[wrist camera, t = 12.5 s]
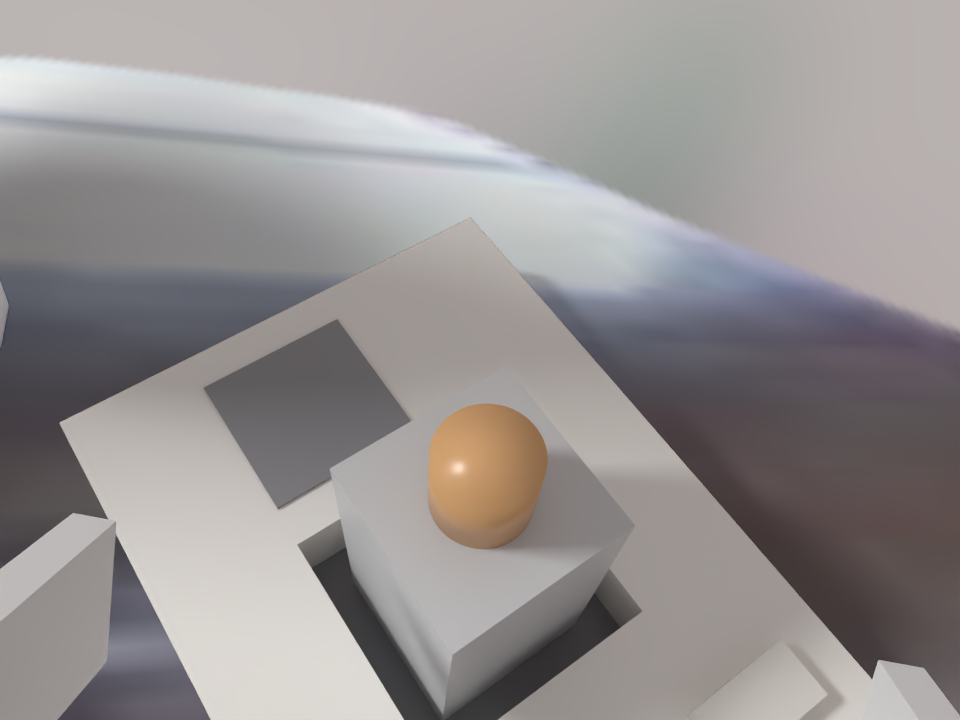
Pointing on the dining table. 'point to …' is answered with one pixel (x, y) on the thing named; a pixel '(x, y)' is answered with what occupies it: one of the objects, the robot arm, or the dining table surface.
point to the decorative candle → (3, 312)
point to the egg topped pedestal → (475, 537)
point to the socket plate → (320, 540)
